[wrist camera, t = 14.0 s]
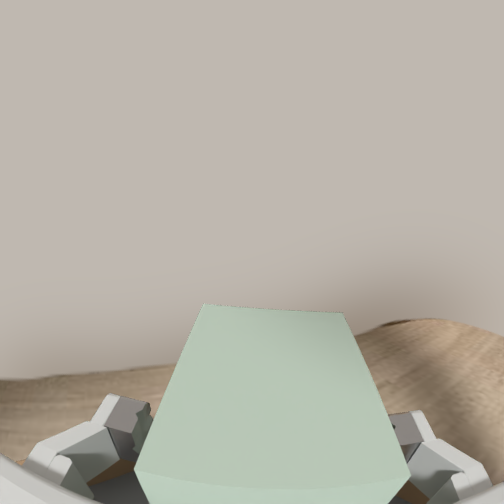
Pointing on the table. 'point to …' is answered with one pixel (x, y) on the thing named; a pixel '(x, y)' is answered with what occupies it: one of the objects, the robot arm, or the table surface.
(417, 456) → the robot arm
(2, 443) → the table surface
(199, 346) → the sage block
